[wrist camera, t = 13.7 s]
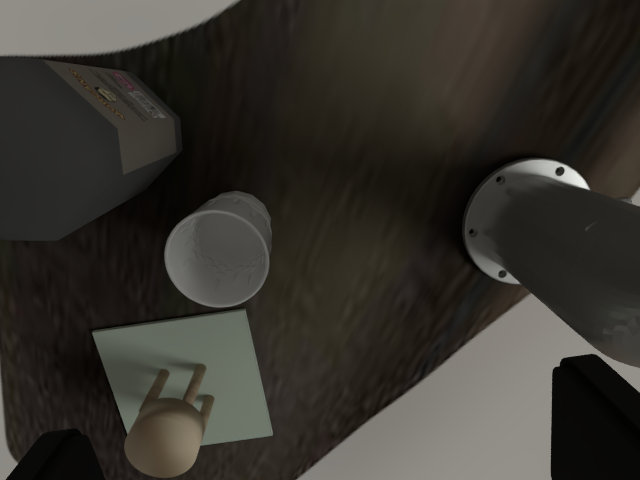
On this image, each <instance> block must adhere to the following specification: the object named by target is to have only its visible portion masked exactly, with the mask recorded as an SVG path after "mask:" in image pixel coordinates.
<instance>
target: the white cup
mask: <svg viewBox="0 0 640 480" xmlns="http://www.w3.org/2000/svg"><path fill="white" fill-rule="evenodd" d="M271 240H272V232H271V218H270V215H269V213H268V211H267V209H266V207H265V205H264V204H263V203H262V202H260V201H259V200H258V199H257V198H256V197H254V196H253V195H252V194H248V193H244V192H240V191H231V192H226V193H221V194H219V195H218V196H217V197H215V198H213V199H211V200H209V201H207V202H206V203H204V204H203V205H201V206H200V207H199V208H198V209H196V210H195V211H194V212H192V213H191V214H190V215H188V216H187V217H186V218H184V219H183V220H182V221H181V222H179V223H178V224H177V225H176V226H175V228H174V229H173V230H172V232H171V233H170V235H169V237H168V240H167V242H166V246H165V254H164V257H165V265H166V269H167V272H168V275H169V277H170V279H171V280H172V282H173V283H174V285H175V286H176V287H177V288H178V290H179V291H180V292H182V293H183V294H184V295H185V296H186V297H188V298H189V299H191V300H193V301H195V302H197V303H199V304H202V305H206V306H210V307H230V306H234V305H237V304H240V303H242V302H244V301H246V300H248V299H249V298H251V297H252V296H253V295H255V294H256V293H257V292H258V290H259V289H260V288H261V287H262V285H263V283H264V281H265V279H266V277H267V274H268V270H269V261H270V253H271Z"/></svg>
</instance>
